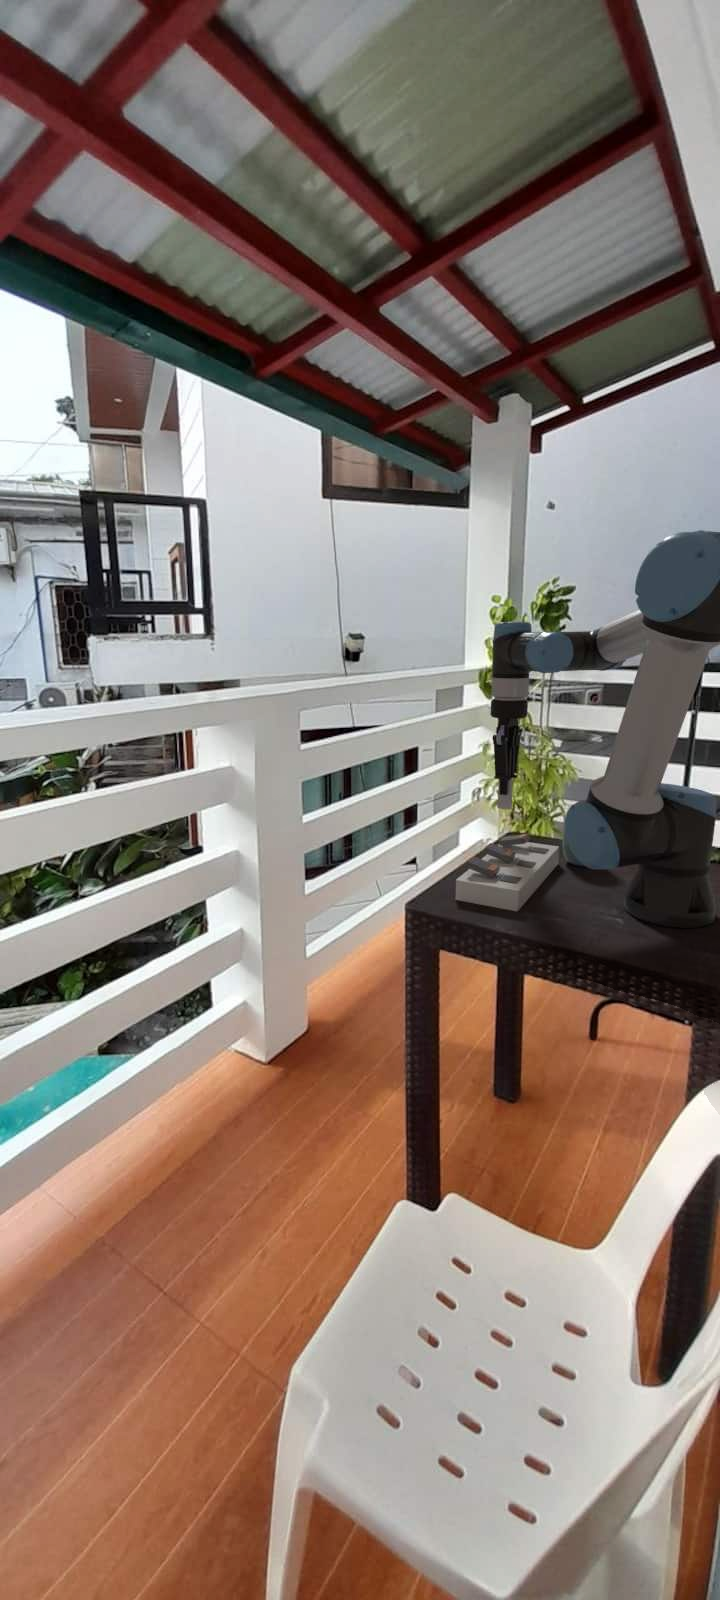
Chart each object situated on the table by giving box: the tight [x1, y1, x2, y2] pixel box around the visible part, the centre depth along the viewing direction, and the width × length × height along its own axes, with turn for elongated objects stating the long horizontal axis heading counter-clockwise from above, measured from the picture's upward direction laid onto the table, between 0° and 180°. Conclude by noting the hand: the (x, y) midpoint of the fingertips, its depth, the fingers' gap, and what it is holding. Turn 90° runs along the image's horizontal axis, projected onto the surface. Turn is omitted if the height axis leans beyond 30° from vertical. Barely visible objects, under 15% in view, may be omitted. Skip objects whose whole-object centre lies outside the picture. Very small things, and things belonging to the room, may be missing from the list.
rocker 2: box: [483, 842, 516, 863], centre depth 143 cm, size 6×4×1 cm, turn 61°
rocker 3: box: [498, 833, 531, 846], centre depth 151 cm, size 6×4×1 cm, turn 60°
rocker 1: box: [465, 855, 500, 878], centre depth 134 cm, size 6×4×1 cm, turn 61°
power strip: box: [455, 841, 560, 912], centre depth 146 cm, size 12×39×4 cm, turn 151°
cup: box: [562, 816, 586, 867], centre depth 152 cm, size 8×8×10 cm
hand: (504, 808), depth 151 cm, fingers closed
